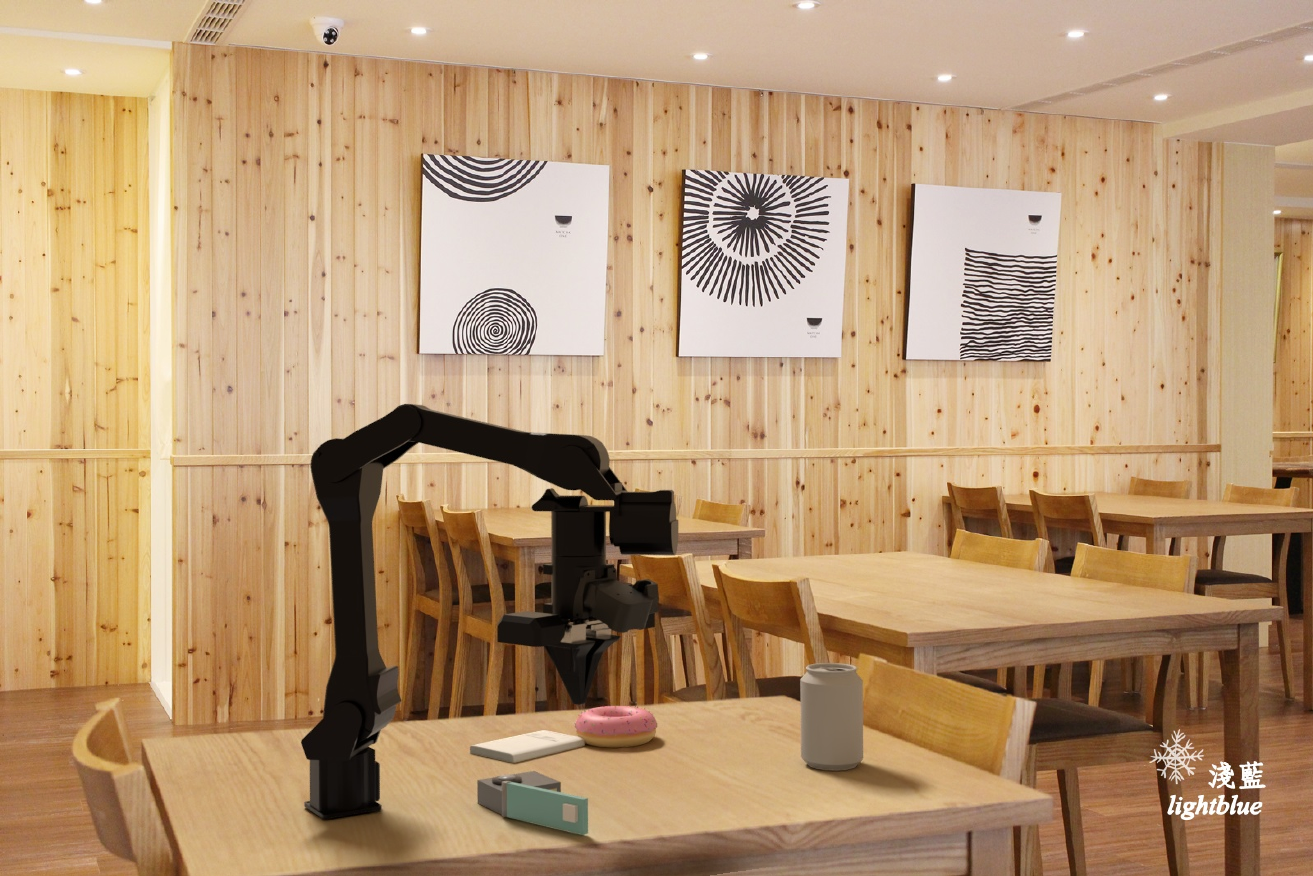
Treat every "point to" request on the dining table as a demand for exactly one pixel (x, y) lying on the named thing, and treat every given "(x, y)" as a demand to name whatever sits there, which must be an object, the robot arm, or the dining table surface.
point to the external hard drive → (527, 746)
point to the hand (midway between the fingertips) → (579, 704)
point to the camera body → (492, 787)
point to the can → (831, 716)
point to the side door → (545, 807)
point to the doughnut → (616, 726)
